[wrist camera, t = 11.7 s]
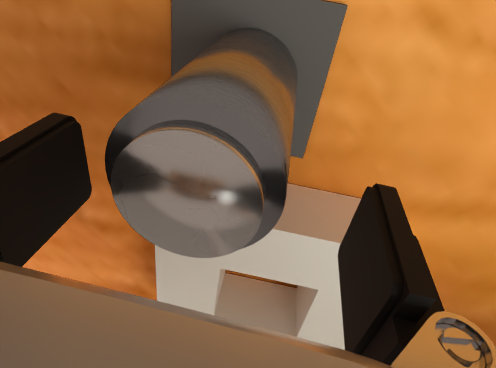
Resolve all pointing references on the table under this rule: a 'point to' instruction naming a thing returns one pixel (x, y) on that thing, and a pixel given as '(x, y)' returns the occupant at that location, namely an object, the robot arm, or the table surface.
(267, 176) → the metal cylinder
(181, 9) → the mat
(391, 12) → the table surface
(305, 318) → the housing
